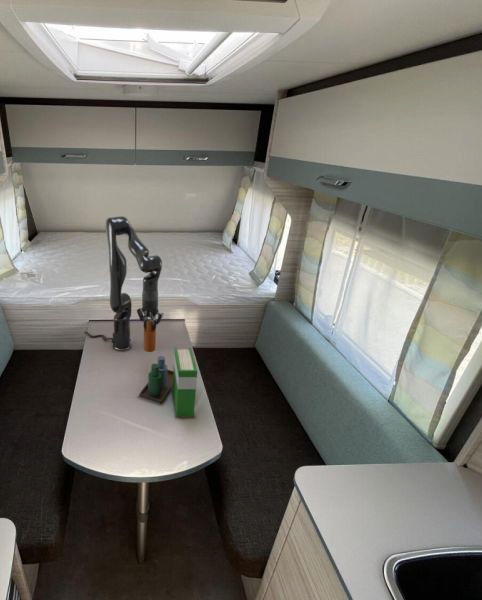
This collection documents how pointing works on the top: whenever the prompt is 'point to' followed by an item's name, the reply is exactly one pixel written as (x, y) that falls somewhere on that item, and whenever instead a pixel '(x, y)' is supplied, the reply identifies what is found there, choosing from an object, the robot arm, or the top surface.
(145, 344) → the amber bottle
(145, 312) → the robot arm
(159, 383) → the green bottle
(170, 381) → the tray
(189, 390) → the hardback book
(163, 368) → the slate bottle
